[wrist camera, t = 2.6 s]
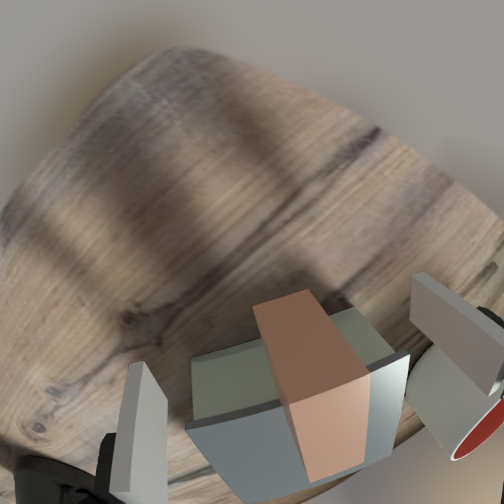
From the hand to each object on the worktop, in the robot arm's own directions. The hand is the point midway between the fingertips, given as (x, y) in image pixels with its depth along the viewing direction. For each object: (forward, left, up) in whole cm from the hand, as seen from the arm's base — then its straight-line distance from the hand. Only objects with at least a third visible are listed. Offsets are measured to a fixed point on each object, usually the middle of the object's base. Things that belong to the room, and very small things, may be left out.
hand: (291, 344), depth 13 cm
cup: (+16, -16, -6) cm, 23 cm away
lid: (0, -7, -1) cm, 7 cm away
